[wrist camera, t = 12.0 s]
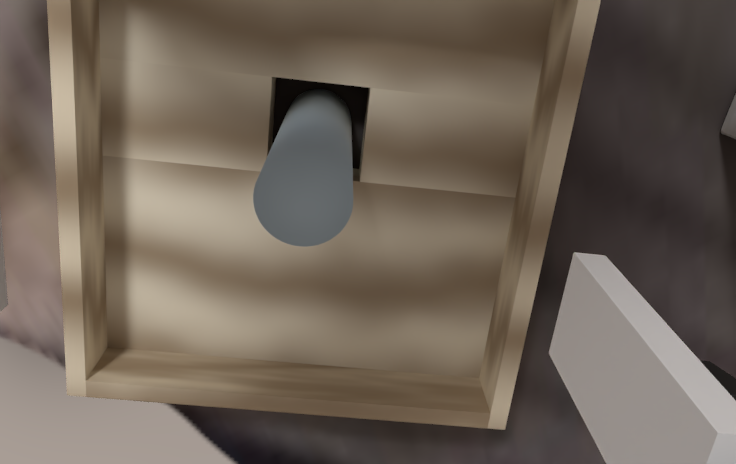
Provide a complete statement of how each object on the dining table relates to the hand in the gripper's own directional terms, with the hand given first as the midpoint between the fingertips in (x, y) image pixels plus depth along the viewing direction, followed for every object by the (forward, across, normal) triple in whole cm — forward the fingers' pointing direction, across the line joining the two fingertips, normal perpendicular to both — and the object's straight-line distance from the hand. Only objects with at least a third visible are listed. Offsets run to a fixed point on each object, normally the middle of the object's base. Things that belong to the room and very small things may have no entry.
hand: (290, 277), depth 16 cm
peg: (+23, 0, -1) cm, 23 cm away
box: (+23, 0, -4) cm, 23 cm away
